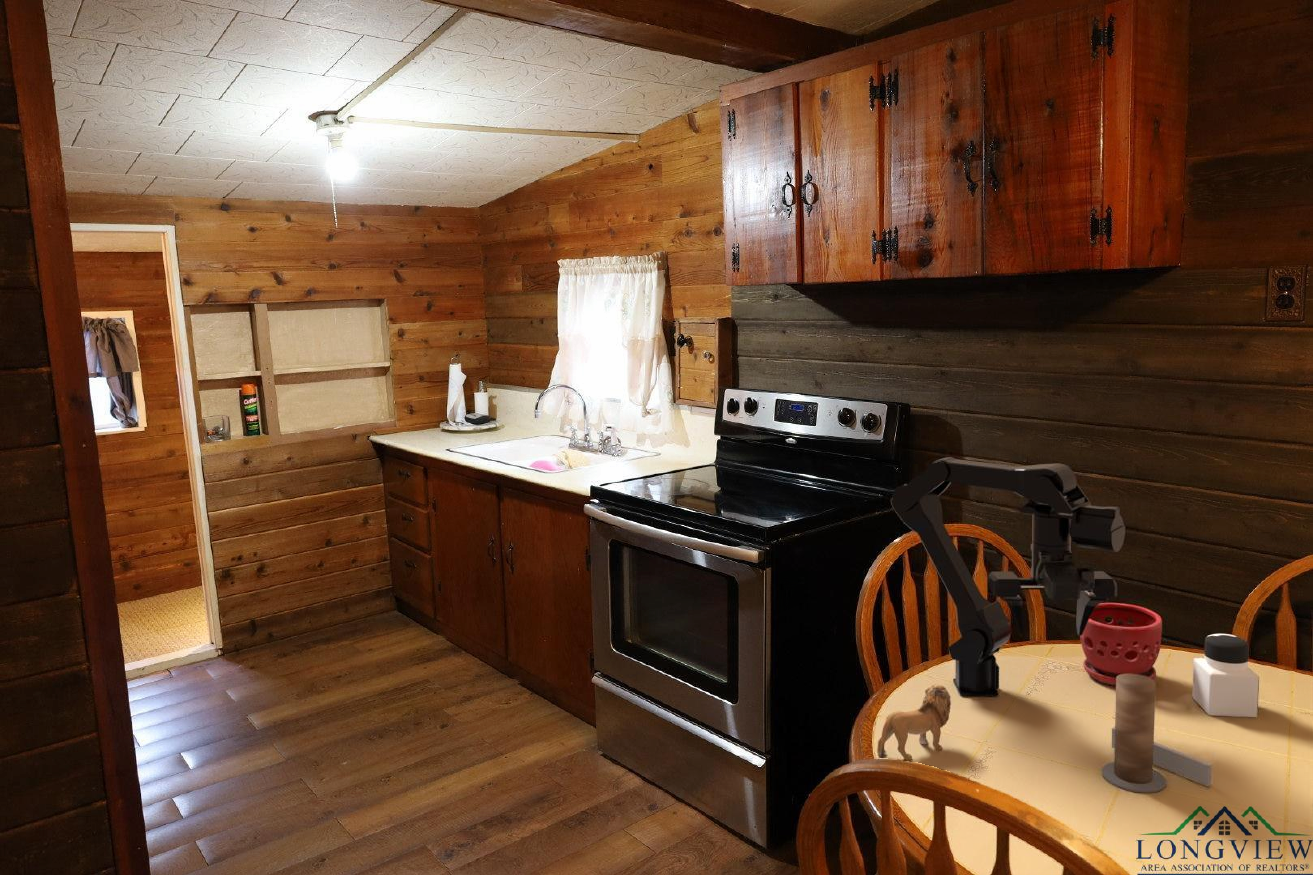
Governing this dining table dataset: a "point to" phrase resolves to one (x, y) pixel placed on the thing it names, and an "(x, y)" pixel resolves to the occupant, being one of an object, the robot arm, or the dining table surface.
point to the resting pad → (1153, 786)
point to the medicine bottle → (1225, 678)
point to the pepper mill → (1134, 728)
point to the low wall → (1179, 763)
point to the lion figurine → (918, 721)
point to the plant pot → (1121, 642)
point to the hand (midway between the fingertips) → (1049, 634)
